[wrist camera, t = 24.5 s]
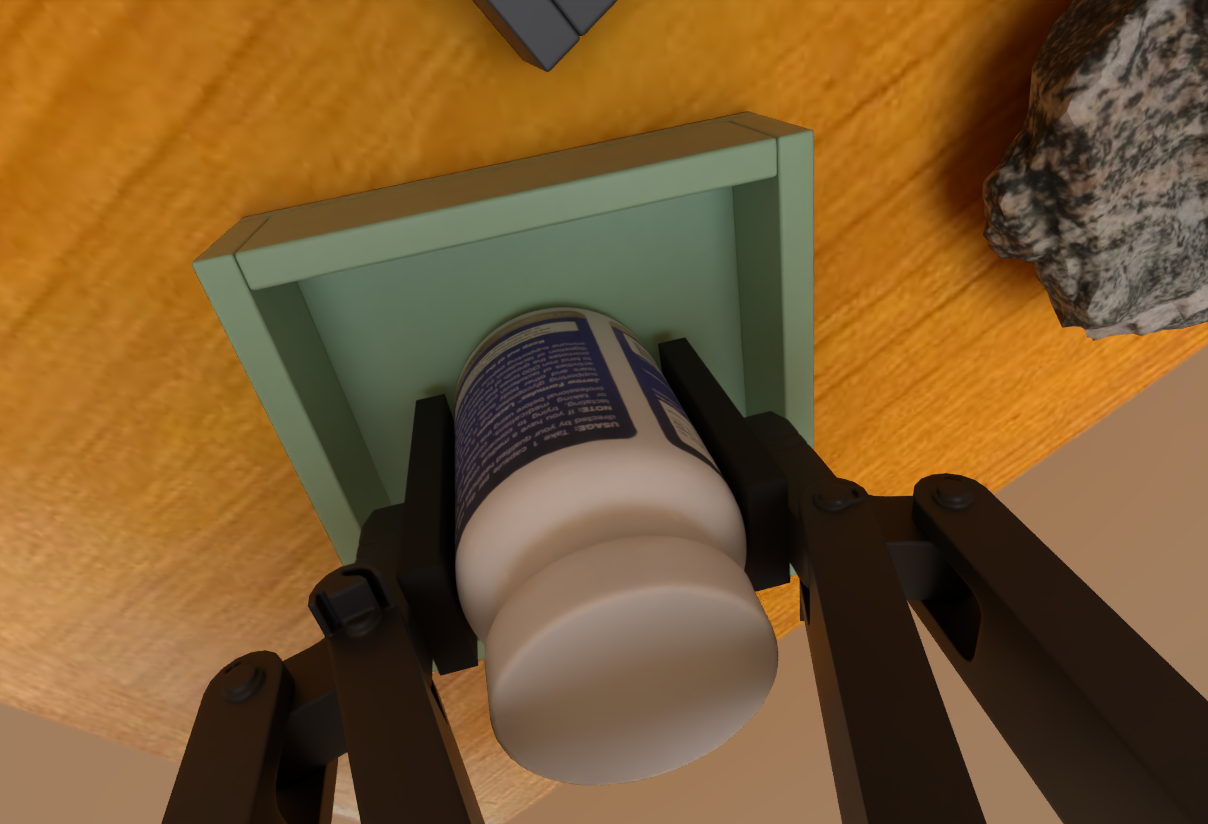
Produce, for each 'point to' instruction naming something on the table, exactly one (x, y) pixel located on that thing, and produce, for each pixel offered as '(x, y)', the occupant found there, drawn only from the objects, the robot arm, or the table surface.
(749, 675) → the pill bottle
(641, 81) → the table surface
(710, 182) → the bottle bin
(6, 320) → the table surface
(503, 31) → the box bin
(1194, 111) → the rock
